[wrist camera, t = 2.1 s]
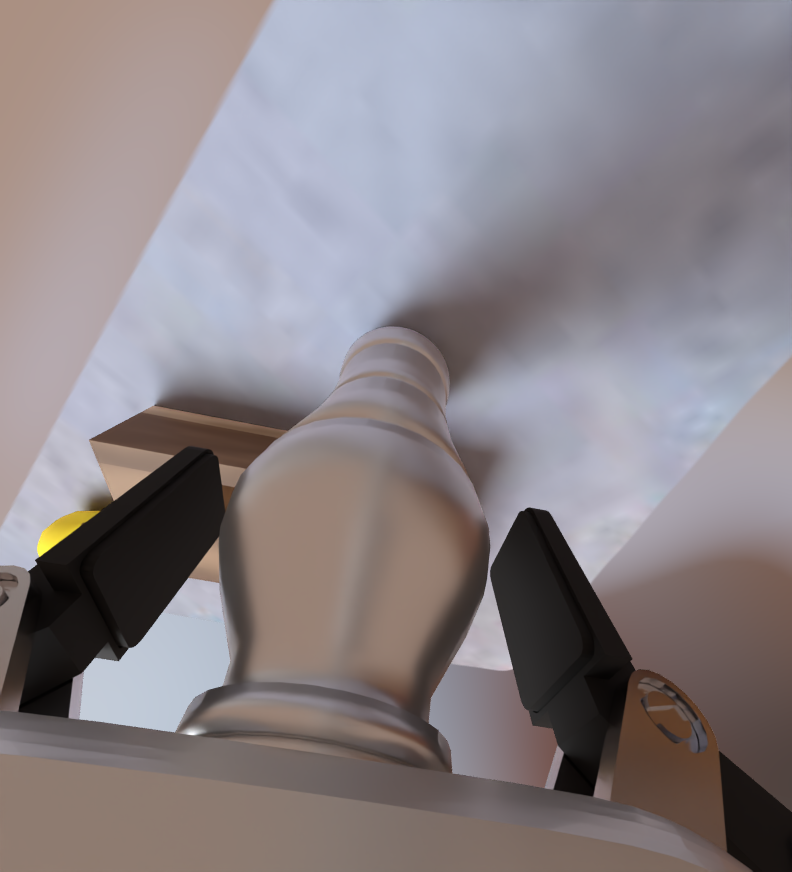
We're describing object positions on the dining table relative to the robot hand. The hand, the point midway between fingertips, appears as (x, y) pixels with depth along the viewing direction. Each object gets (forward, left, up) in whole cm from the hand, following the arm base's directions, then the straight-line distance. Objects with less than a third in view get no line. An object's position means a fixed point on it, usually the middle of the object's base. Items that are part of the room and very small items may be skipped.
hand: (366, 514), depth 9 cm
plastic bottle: (-1, 0, -13) cm, 13 cm away
